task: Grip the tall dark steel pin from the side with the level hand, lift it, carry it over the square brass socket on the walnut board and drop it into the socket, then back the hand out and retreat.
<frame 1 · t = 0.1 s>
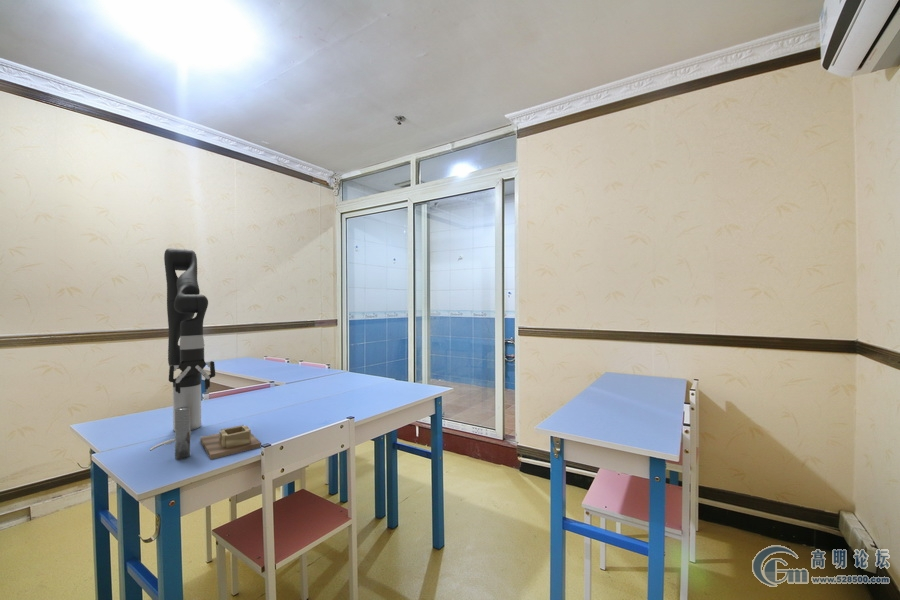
hand: (192, 391, 139), 17 cm above the table, tool pointing down, fingers open, 8 cm apart
pliers: (176, 442, 136), on the table
steel pin: (182, 457, 122), on the table
socket board: (230, 444, 133), on the table
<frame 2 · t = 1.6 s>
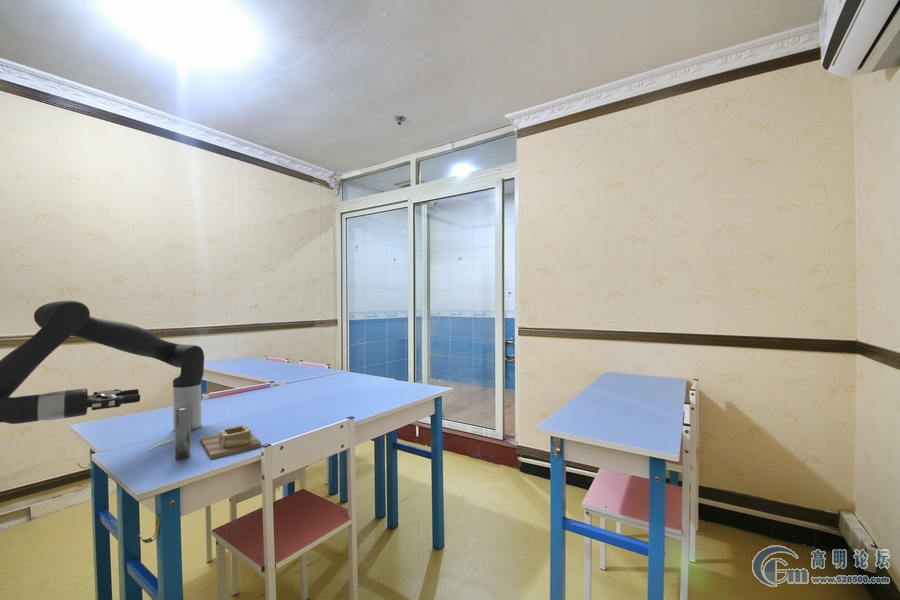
hand: (139, 395, 115), 22 cm above the table, tool horizontal, fingers open, 8 cm apart
nothing on the table moved.
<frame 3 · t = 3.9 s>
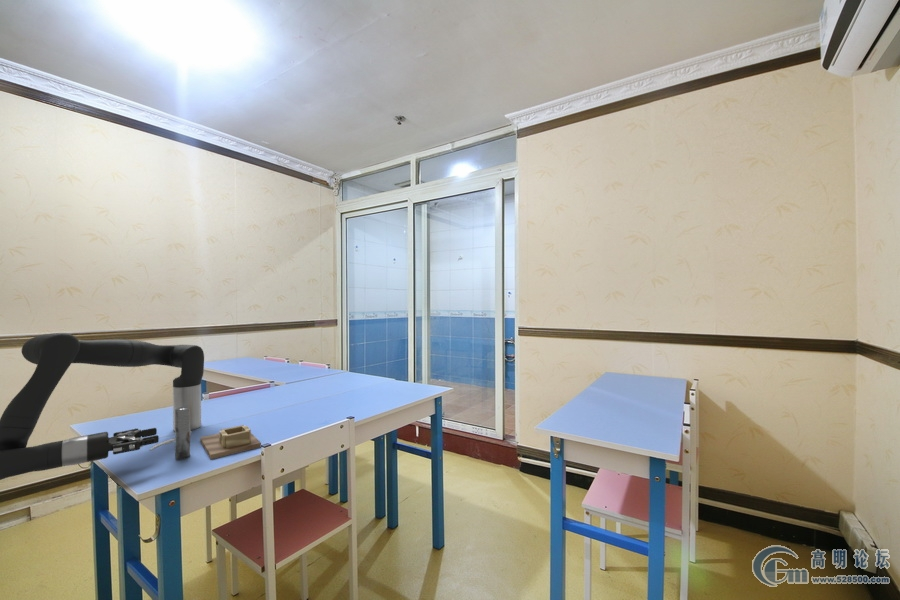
hand: (157, 434, 118), 9 cm above the table, tool horizontal, fingers open, 8 cm apart
nothing on the table moved.
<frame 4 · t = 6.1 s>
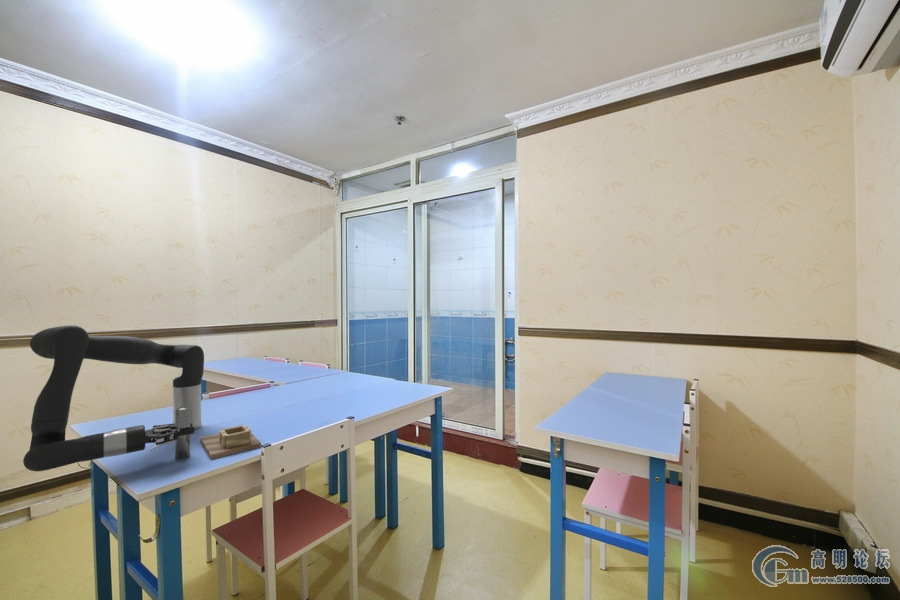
hand: (192, 427, 124), 9 cm above the table, tool horizontal, fingers closed on steel pin, 4 cm apart
steel pin: (182, 457, 122), on the table, touching gripper
everything else where it was.
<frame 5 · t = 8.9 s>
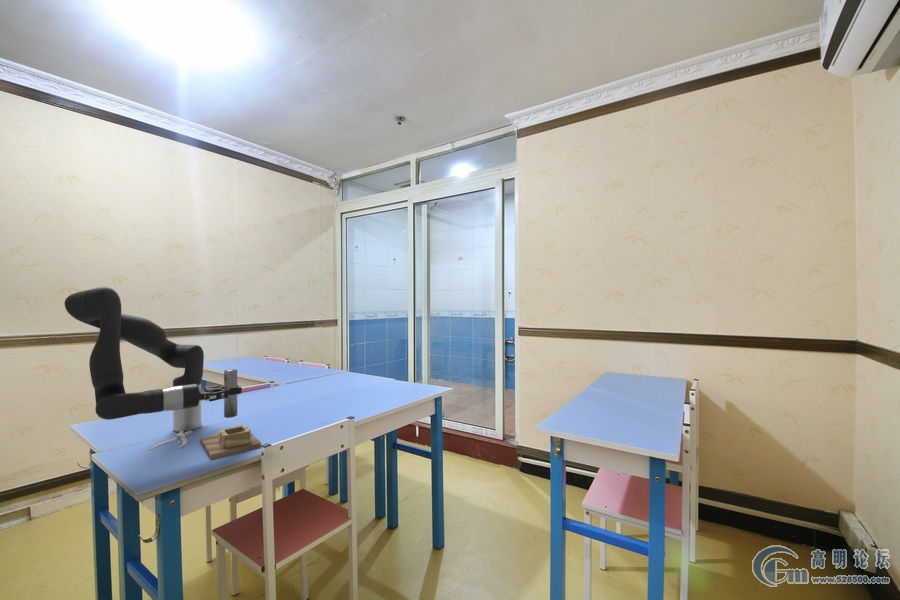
hand: (239, 388, 132), 20 cm above the table, tool horizontal, fingers closed on steel pin, 4 cm apart
steel pin: (230, 415, 130), point 11 cm above the table, touching gripper
everything else where it was.
when the fingers open (12 cm above the table, at t = 11.6 s): steel pin drops 1 cm, resting on socket board.
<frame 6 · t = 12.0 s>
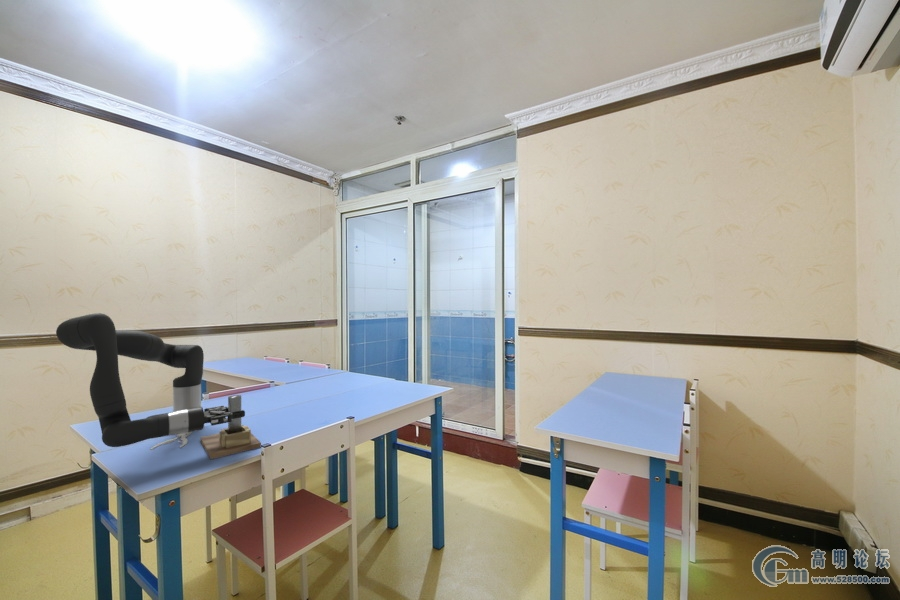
hand: (241, 410, 133), 12 cm above the table, tool horizontal, fingers open, 7 cm apart
steel pin: (234, 441, 131), point 2 cm above the table, touching socket board
everything else where it was.
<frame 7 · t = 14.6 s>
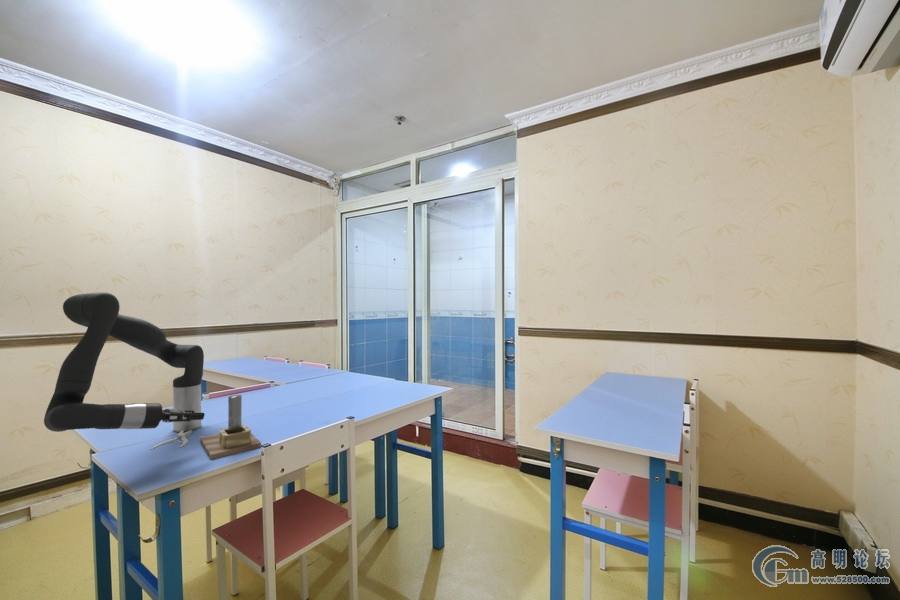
hand: (198, 414, 127), 12 cm above the table, tool horizontal, fingers open, 8 cm apart
nothing on the table moved.
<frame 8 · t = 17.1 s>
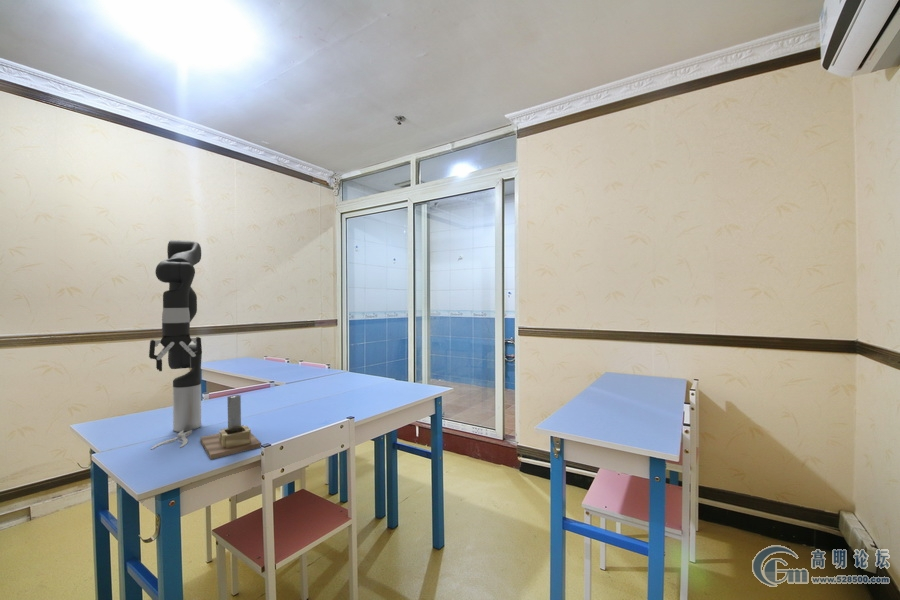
hand: (176, 369, 126), 28 cm above the table, tool pointing down, fingers open, 8 cm apart
nothing on the table moved.
at the end: steel pin 0.1 cm from the target spot on the socket board, point 1.5 cm above the socket board's base; steel pin tilted 1°; the gripper is holding nothing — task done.
